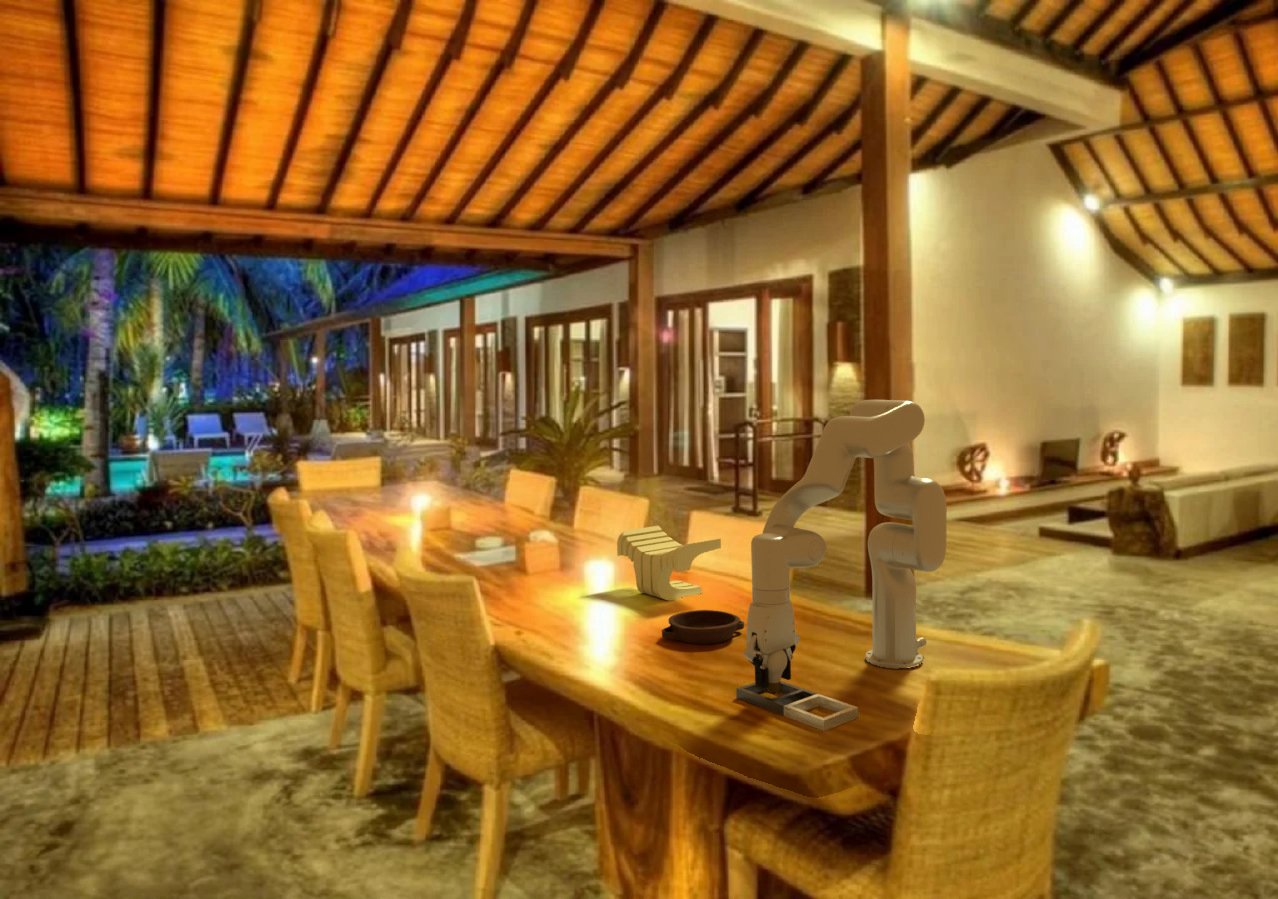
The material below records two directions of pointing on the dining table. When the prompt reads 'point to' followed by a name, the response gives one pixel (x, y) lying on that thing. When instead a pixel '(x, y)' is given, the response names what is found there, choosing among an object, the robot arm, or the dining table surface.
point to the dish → (702, 626)
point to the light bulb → (775, 669)
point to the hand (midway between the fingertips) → (773, 681)
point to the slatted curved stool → (661, 560)
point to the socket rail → (799, 705)
